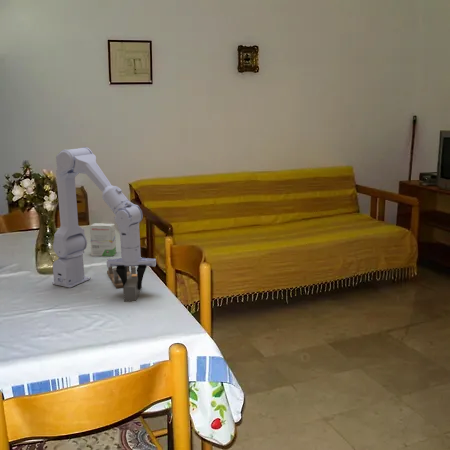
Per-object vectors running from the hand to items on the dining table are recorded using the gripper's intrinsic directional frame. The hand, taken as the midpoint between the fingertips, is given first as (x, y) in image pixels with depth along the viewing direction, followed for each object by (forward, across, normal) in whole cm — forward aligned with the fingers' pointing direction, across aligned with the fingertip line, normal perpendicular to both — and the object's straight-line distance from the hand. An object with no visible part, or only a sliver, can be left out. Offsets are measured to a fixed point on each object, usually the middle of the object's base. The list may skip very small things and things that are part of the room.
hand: (132, 288), depth 163 cm
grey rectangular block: (+2, 0, 0) cm, 2 cm away
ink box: (+2, +18, -43) cm, 46 cm away
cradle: (+2, +6, -14) cm, 15 cm away
